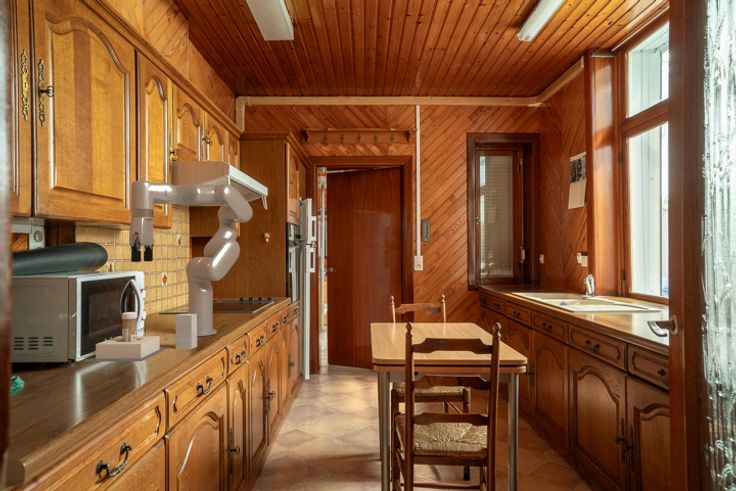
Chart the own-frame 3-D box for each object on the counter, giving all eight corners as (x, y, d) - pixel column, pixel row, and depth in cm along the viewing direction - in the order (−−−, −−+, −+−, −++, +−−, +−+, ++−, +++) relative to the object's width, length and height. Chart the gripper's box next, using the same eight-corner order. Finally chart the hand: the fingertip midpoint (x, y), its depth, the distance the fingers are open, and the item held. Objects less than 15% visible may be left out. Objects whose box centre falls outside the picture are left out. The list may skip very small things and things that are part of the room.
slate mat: (115, 349, 165) (115, 348, 165) (167, 349, 166) (167, 348, 166) (81, 362, 145) (81, 361, 145) (141, 362, 146) (141, 361, 146)
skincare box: (197, 347, 169) (197, 313, 169) (191, 350, 164) (191, 315, 164) (180, 347, 169) (181, 313, 169) (174, 349, 165) (175, 315, 165)
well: (118, 349, 163) (118, 336, 163) (159, 349, 164) (159, 336, 164) (95, 358, 149) (95, 344, 149) (140, 358, 150) (141, 344, 150)
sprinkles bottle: (138, 354, 156) (138, 312, 156) (122, 355, 154) (122, 313, 154) (136, 351, 160) (136, 311, 160) (120, 353, 157) (121, 312, 158)
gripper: (142, 216, 184) (142, 261, 183) (120, 213, 166) (120, 262, 166) (162, 216, 184) (162, 261, 184) (142, 213, 166) (142, 262, 166)
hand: (142, 261), depth 175 cm, fingers open, 9 cm apart
